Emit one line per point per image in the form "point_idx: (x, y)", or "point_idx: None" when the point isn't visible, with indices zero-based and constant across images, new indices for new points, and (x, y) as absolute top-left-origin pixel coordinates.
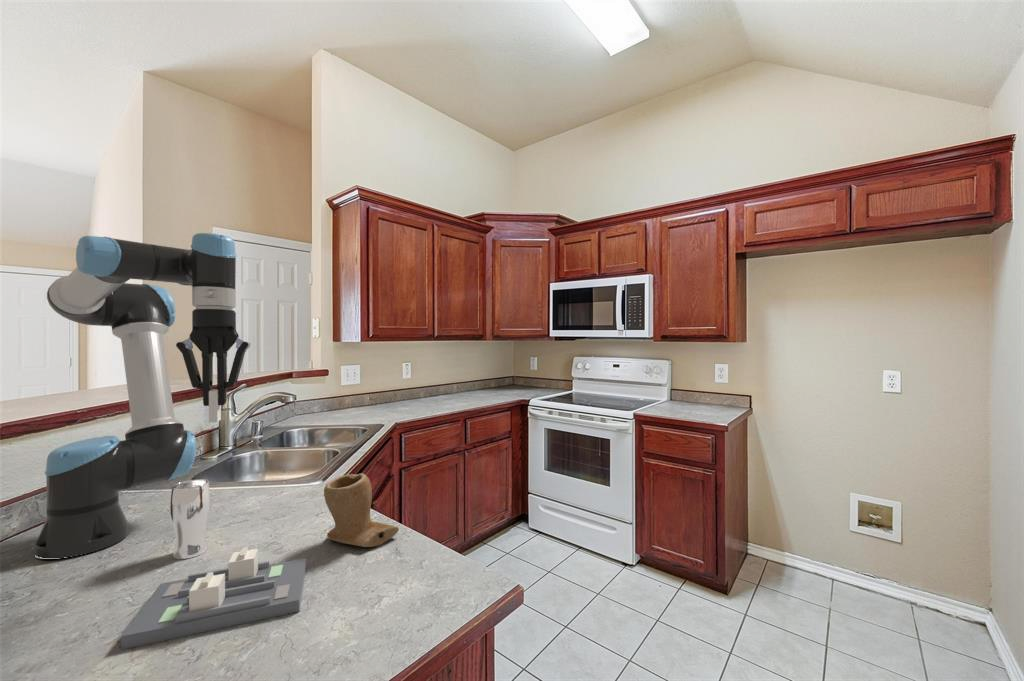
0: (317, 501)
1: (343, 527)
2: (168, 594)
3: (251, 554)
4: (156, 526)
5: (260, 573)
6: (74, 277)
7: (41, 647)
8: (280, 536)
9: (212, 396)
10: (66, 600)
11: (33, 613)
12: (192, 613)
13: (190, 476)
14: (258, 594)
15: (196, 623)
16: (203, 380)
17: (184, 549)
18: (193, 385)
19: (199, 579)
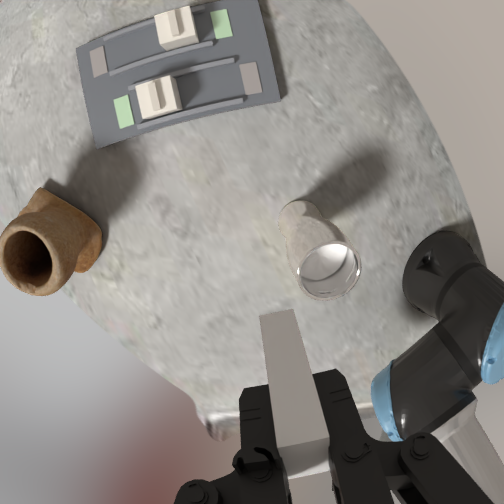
0: (181, 363)
1: (60, 213)
2: (250, 65)
3: (144, 98)
4: (380, 310)
5: None
6: None
7: (347, 27)
8: (182, 254)
9: (300, 410)
10: (387, 120)
11: (403, 101)
12: None
13: None
14: (126, 57)
15: None
16: (382, 493)
17: (302, 206)
18: (429, 442)
19: (190, 31)
